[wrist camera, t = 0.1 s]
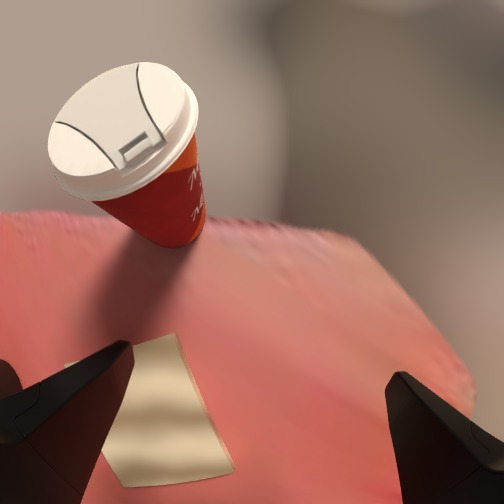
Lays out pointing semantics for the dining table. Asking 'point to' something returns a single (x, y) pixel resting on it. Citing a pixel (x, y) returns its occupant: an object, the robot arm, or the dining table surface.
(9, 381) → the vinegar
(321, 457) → the dining table surface
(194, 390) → the napkin
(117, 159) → the coffee cup
